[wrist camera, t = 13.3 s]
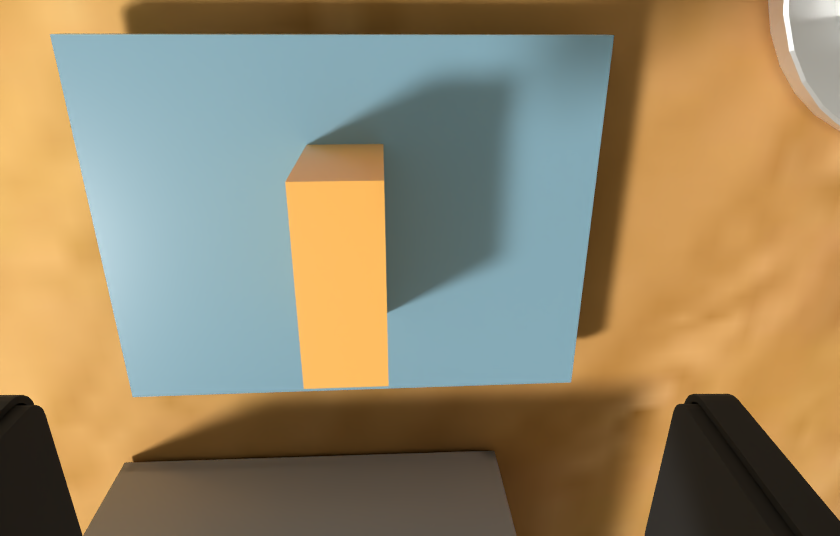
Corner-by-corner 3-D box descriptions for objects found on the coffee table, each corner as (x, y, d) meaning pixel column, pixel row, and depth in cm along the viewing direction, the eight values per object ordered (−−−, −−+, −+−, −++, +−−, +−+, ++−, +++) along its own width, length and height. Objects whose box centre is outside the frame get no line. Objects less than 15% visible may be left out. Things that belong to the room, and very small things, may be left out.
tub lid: (592, 33, 19) (685, 41, 14) (556, 354, 24) (613, 464, 18) (82, 32, 19) (-59, 40, 13) (152, 367, 23) (74, 487, 17)
